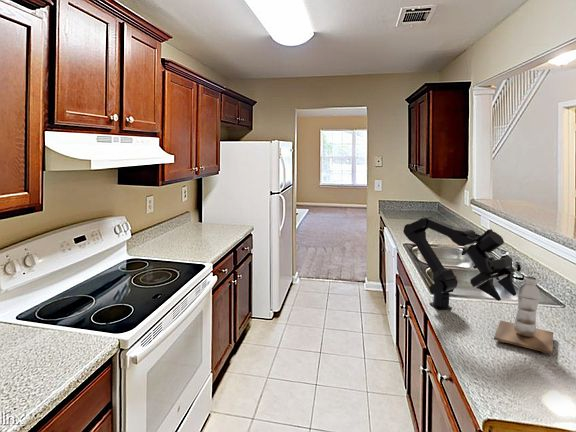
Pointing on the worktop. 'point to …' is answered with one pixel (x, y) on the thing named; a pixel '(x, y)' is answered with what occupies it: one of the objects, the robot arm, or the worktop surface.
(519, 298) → the plastic bottle
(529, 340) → the shelf board
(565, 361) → the worktop surface
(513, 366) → the worktop surface
